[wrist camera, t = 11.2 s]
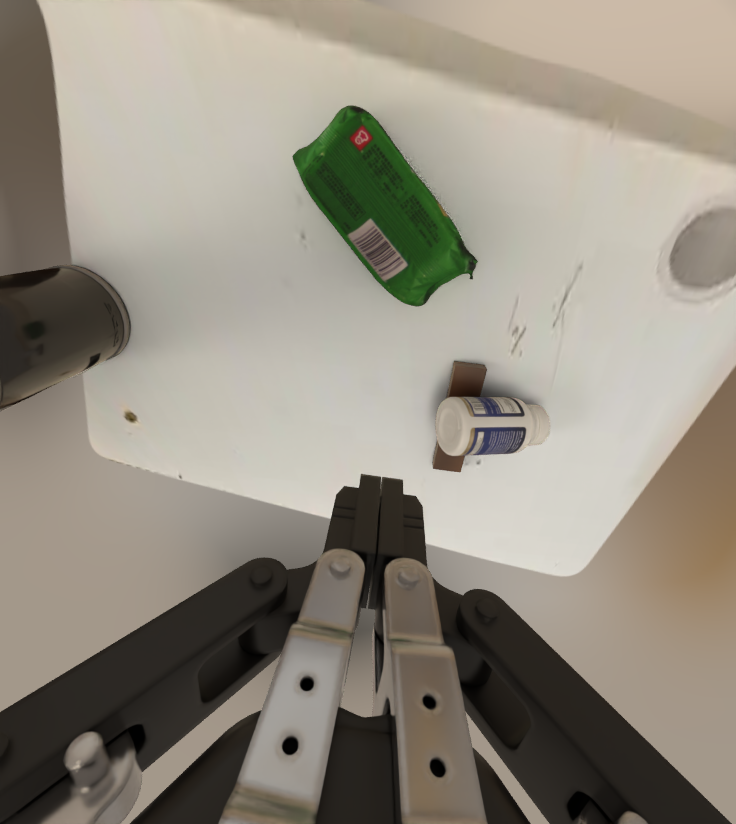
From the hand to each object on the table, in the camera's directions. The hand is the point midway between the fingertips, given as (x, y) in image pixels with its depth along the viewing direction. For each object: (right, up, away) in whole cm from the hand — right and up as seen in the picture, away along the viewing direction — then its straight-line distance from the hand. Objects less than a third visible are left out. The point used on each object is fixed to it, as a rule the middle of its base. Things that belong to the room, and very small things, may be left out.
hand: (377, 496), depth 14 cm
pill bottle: (+7, +2, +22) cm, 23 cm away
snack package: (+1, +20, +19) cm, 28 cm away
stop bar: (+9, +2, +27) cm, 29 cm away
